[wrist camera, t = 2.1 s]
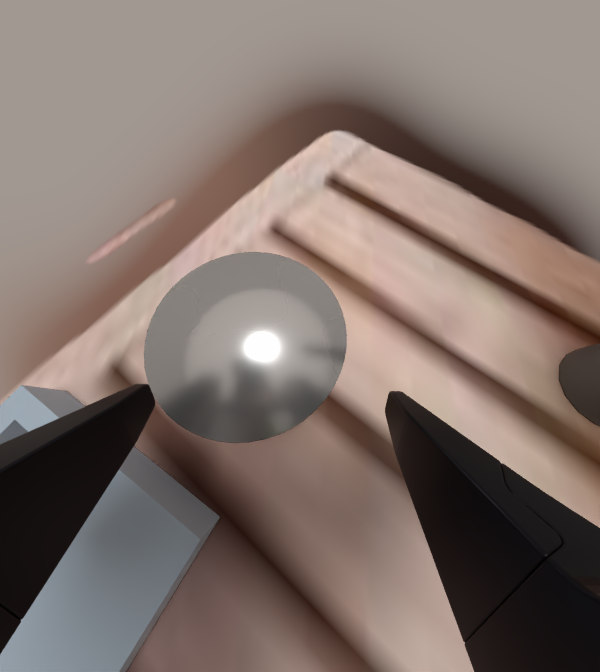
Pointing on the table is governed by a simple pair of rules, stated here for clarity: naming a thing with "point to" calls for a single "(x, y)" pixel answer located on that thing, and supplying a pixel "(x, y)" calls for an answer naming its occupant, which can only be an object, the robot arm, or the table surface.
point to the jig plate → (105, 559)
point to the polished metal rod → (245, 347)
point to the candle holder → (583, 381)
